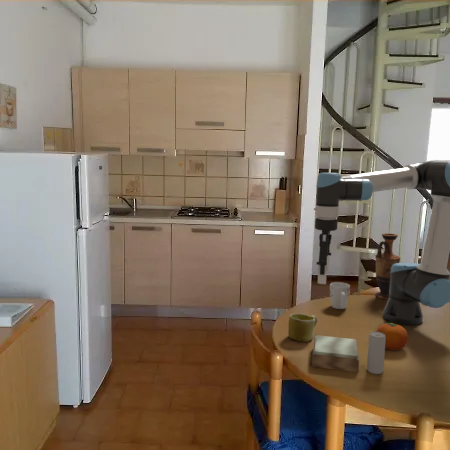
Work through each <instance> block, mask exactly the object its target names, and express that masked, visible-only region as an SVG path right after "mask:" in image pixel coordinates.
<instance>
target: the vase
mask: <svg viewBox="0 0 450 450" xmlns="http://www.w3.org/2000/svg"><path fill="white" fill-rule="evenodd" d="M381 236H382V237H381V238H382V239H383V240H384V241H380V242H379V243H378V248H377V253H376V254H375V279H376V283H377V286H378V288H379V289H378V290H379V291H377V292H376V293H375V298H378V299H382V300H388V299H389V290H390V272H391V267H392V265H393V264H395V263H401V257H400V256H399V255H396V254H394V253H393V244H394V242H395V240H396V239H397V238H398V237H399V235H398V234H395V233H387V232H386V233H381ZM383 246H384V250H383V252H382V247H383Z"/></svg>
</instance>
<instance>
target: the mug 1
mask: <svg viewBox="0 0 450 450" xmlns="http://www.w3.org/2000/svg"><path fill="white" fill-rule="evenodd" d="M288 317H289V318H288V333H287V334H288V337H289V339H291V340H294V341H298V342H302V343H308V342H309V341H312V339H314V338H313V337H314V335H313V334H314V329H315V327H316V326H317V323H318V318H317V316H316V315H313V314H311V315H308V314H305V313H304V314H303V313H291V314H289V316H288Z"/></svg>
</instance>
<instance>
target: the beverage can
mask: <svg viewBox="0 0 450 450" xmlns="http://www.w3.org/2000/svg"><path fill="white" fill-rule="evenodd" d="M385 340H386V337H385V334H383V333H381V332H376V331H370V332H369V335H368V346H367V360H366V361H367V362H366V363H367V364H366V370H367V371H368V372H369V373H370V374H372V375H381V374H383V372H384V363H385V353H386V352H385V351H386V348H385Z"/></svg>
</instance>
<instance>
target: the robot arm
mask: <svg viewBox="0 0 450 450" xmlns="http://www.w3.org/2000/svg"><path fill="white" fill-rule="evenodd" d="M316 180H317V181H316V200H315V201H316V202H315V203H316V204H315V207H314V208H313V211H315V217H316V218H315V220H314V229H315V230H318V231H321V233H320V234H319V237H318V239H319V243H318V244H319V245H318V246H319V253H318V254H319V256H318V261H316V265H318V268H317V269H318V270H317V284H319V285H327V275H329V272H330V271H329V270H330V269H329V267H330V256H332V252H331V250H330V247H331V243H332V236H333V235H332V234H331V231H332V232H333V231H337V229H338V219H337V218H339V209H340V207H339V203H340V201H347V202H348V201H349V202H351V201H355V202H357V201H359V202H361V201H368V200H370V199H371V197H372V196H373V193H375V192H382V191H389V190H397V189H405V188H406V189H407V190H410V191H411V190H425V191H426V190H427V191H430V197H431V198H432V200H433V203H432V208H431V213H430V218H429V223H428V228H427V234H426V238H425V244H424V249H423V253H422V259H421V263H418V262H416V263H414V262H399V263H395V264H393V265H392V267H391V272H390V290H389V299H387V301H386V304H385V306H384V308H383V312H382V317H383V318H384V319H385V320H387V321H389V322H390V323H393V324H397V325H405V326H410V325H411V326H414V325H419V324H421V323H423V322H424V321H423V319H424V314H423V311H422V306H421V305H423V306H425V307H429V308H431V309H439V308H442V307H444V306H446V304H448V303H449V302H450V280H449V279H450V271H449V270H448V268H447V266H448V261H449V257H450V160H441V159H440V160H439V159H436V160H435V159H433V160H428V161H423V162H418V163H412V164H407V165H405V166H404V167H402V168H401V167H400V168H394V169H388V170H387V169H386V170H380V171H372V172H362V173H356V174H355V173H354V174H347V175H341V174H340V172H339V173H338V172H320V173H319V174H318V175H317V179H316Z"/></svg>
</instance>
